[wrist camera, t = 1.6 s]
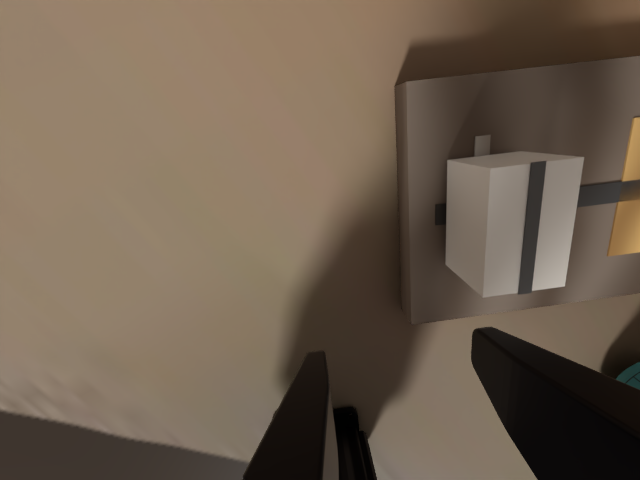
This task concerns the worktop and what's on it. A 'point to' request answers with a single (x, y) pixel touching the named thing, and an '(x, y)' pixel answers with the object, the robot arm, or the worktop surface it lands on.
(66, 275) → the worktop surface
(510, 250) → the fader knob
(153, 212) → the worktop surface
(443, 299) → the fader console
